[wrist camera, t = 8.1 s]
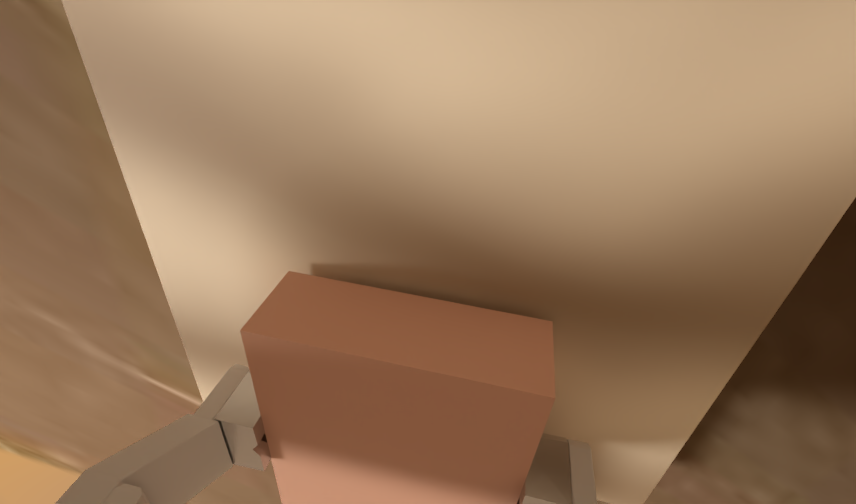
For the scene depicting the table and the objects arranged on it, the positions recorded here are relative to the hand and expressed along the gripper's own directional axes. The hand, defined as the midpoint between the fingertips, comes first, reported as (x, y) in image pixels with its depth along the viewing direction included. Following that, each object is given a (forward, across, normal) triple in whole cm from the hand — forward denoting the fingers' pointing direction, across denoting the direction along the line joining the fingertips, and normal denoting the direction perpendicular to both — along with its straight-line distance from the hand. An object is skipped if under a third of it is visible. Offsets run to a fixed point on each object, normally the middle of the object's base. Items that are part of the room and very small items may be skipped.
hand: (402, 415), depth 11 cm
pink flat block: (+1, 0, 0) cm, 1 cm away
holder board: (+2, 0, -13) cm, 13 cm away
